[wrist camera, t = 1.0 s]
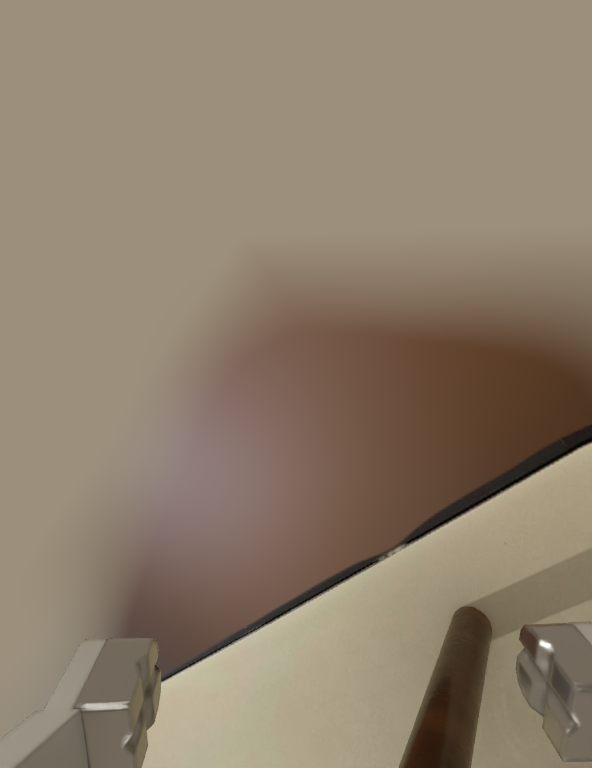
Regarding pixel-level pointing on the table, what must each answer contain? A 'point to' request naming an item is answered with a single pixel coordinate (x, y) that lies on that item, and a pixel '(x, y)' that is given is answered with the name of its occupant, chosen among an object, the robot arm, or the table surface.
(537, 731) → the table surface
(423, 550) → the table surface
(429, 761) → the brown cylinder rod
